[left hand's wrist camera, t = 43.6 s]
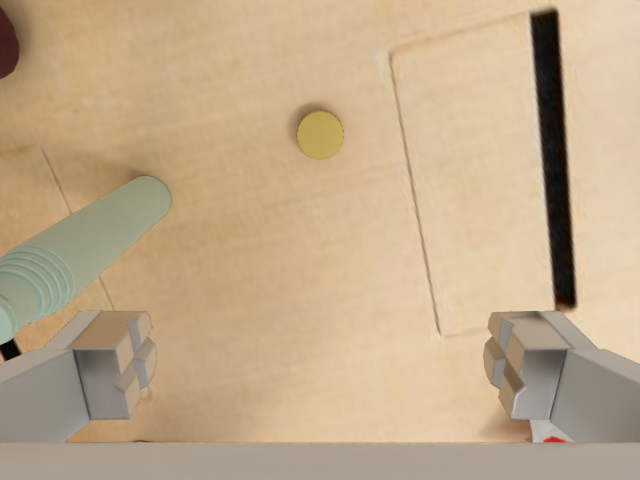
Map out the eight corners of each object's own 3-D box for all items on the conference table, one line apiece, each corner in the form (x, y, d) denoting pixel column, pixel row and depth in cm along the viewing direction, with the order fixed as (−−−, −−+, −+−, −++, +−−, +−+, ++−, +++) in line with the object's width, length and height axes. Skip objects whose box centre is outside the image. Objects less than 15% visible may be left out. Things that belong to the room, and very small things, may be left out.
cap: (333, 162, 44) (333, 166, 42) (291, 146, 43) (289, 150, 41) (350, 119, 42) (351, 122, 40) (306, 102, 42) (306, 103, 40)
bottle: (128, 170, 44) (-70, 272, 22) (174, 181, 44) (26, 293, 22) (124, 213, 46) (-65, 348, 23) (168, 223, 46) (25, 366, 24)
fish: (498, 525, 56) (560, 573, 46) (474, 403, 57) (530, 425, 48) (564, 499, 59) (634, 539, 49) (540, 383, 60) (604, 400, 51)
